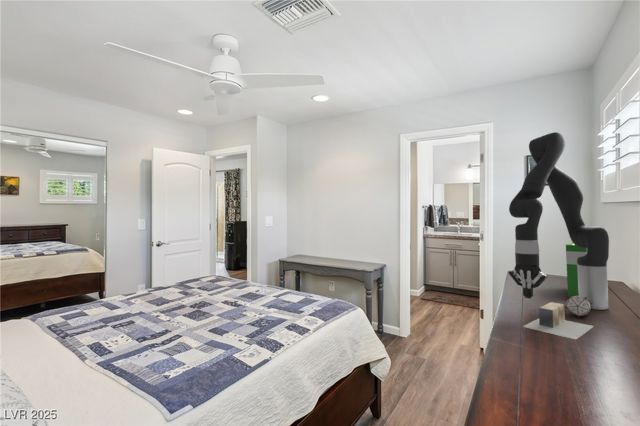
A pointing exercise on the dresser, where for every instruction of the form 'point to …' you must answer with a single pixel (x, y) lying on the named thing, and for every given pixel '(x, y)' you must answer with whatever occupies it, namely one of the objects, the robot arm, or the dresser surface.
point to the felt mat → (562, 328)
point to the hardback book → (573, 266)
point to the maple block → (551, 314)
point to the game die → (578, 305)
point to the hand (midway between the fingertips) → (528, 297)
